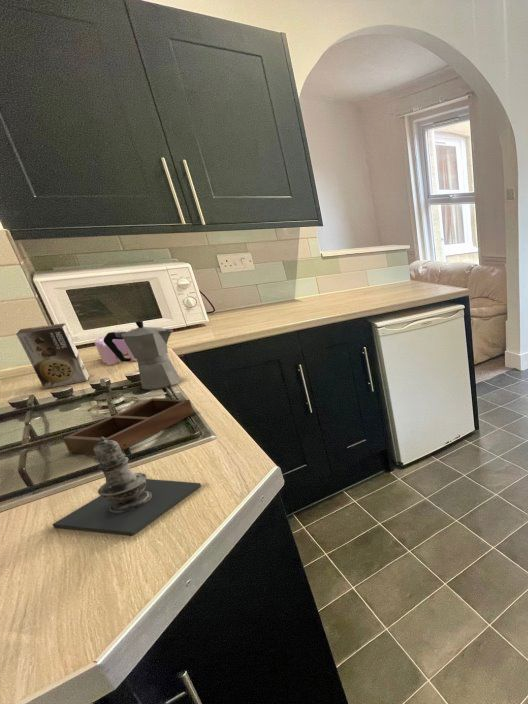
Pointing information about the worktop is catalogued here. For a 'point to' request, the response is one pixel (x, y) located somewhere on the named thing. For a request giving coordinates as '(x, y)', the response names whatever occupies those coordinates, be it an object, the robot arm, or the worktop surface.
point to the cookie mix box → (53, 355)
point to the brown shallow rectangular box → (130, 425)
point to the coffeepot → (147, 354)
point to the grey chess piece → (120, 479)
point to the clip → (107, 354)
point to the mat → (132, 521)
